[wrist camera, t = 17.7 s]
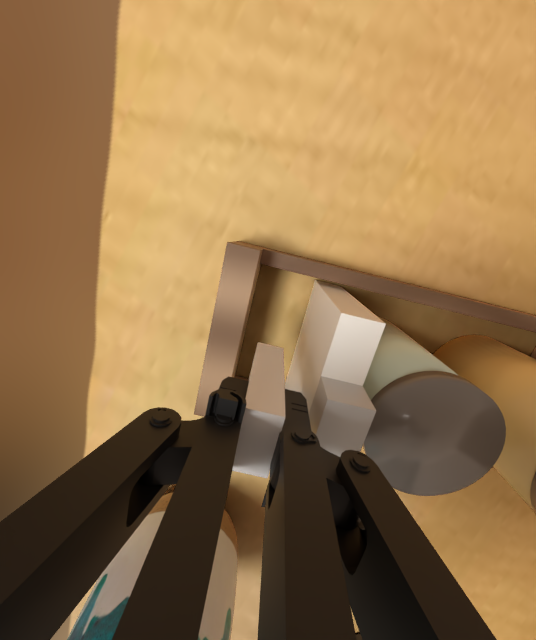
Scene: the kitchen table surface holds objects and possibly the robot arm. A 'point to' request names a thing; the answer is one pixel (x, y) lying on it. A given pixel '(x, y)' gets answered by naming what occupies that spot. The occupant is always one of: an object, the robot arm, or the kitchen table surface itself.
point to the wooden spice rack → (248, 258)
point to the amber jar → (503, 401)
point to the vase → (122, 572)
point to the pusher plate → (336, 366)
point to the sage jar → (428, 420)
